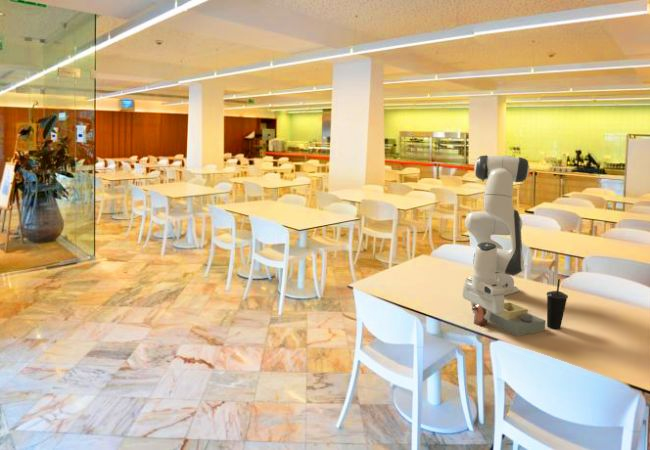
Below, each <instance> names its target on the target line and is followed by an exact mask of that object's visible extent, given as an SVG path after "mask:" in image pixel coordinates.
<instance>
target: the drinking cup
mask: <svg viewBox="0 0 650 450" xmlns="http://www.w3.org/2000/svg"><path fill="white" fill-rule="evenodd" d="M560 283H561V279H560V278H557V285H556V286H557V287H556V290H552V291H548V292H546V298H547V299H546V305H547V306H546V311H547V312H546V326H547V328H548V329H552V330H560V329H561V327H562V322H563V318H564V315H565V308H566V304H567V300H568V298H569V295H568V294H567V293H565V292H562V291H560Z"/></svg>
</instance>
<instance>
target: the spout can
mask: <svg viewBox="0 0 650 450" xmlns="http://www.w3.org/2000/svg"><path fill="white" fill-rule="evenodd" d="M474 310H475V314H474V313H473V314H474V316H473V324H474V325H476V326H480V327H485V326H487V323H488V320H486V319H484V314H486V313H487V312H486V309H484V308H482V307H481V306H479V305H477V304H475V307H474V308H472V307H471V311H472V312H473V311H474Z"/></svg>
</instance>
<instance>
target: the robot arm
mask: <svg viewBox="0 0 650 450" xmlns="http://www.w3.org/2000/svg"><path fill="white" fill-rule="evenodd" d="M473 170H474V174H475V177H476V178H477V179H479V180H480V181H482V182H484V181H486V182H485V189H484V194H483V209H484V210H482V211H481V210H478V211H472V212H469V213H468V214H467V215H466V217H465V220H464V226H465V227H464V228H465V229H466V230H467V232H469V233H470V234H471V235H472V236H473V237H474V239H475V240H476V243H477V245H476V248H475V251H474V254H473V260H472V261H473V273H472V277H467V278H466V279H465V282H464V285H463V289H462V297H463V299H465V300H467V301H468V302H470V304H471V309H472V308H474V307H475V304H477V305H479V306H481V307H482V308H484V309H486V312H487V313H486V314H484V319H486V320H487V321H488V320H489V319H490V315H491V313H492V312H493V313H495V314H499V313H502V312H503V310H504V302H505V296H508V295H511V294H514V293H518V292H520V289H519V287H517V286H515V279H514V278H513V276H517V275H518V274H520V273H522V271H523V270H524V267H525V259H524V255H523V254H524V253H523V243H522V228H523V220H522V217H521V216H520V213H519V211H518V210H516V208H515V207H514V204H513V196H514V195H513V194H514V182H515V183H521V182H524V181H525V180H526V179H527V178H528V176H529V173H530V165H529V161H528V159H526V158H523V157H516V156H510V155H488V154H485V155H480V156H479V157H477V159H476V161H475V163H474V169H473ZM491 236H507V237H508V236H510V237H509V239H510V248H509V249H504V248H503V246H502V244H500V243H498V242H497V241H495V240H493V239H492V238H491ZM472 314H475V310H474V311H473V310H472Z"/></svg>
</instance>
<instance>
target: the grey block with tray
mask: <svg viewBox="0 0 650 450" xmlns="http://www.w3.org/2000/svg"><path fill="white" fill-rule="evenodd" d="M487 322H489V323H492V324H493V325H496V326H498V327H499V328H502V329H504V330H505V331H506V332H507V331H508V332H510V333H511V334H513V335H515V336H517V337H519V336H525V335H529V334H534V333H539V332H542V331H546V323H547V320H544V319H542V318H540V317H538V316H536V315H534V314H531V313H529V312H528V308H526V307H525V306H522V305H519V304H517V303H514V302H513V301H510V300H509V301H504V310H503V312H502V313H499V314H495V313H493V312H492V313H491V315H490V319H489V320H487Z"/></svg>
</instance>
